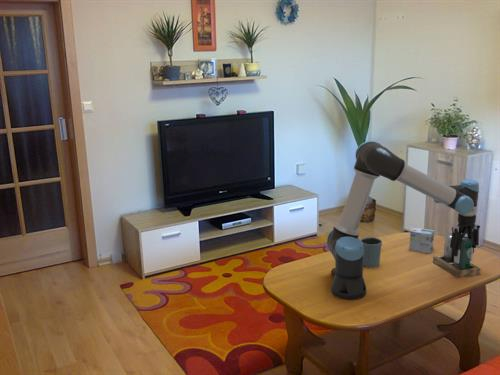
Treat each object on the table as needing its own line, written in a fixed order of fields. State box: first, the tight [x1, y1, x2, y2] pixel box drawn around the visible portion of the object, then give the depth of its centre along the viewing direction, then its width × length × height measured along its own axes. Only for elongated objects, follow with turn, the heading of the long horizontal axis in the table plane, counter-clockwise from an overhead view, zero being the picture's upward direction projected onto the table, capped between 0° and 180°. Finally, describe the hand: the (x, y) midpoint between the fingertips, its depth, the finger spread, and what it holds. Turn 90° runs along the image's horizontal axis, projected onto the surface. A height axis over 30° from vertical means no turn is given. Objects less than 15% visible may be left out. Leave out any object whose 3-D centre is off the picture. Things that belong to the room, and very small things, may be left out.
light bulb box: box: [409, 226, 435, 254], centre depth 264 cm, size 11×7×11 cm, turn 58°
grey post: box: [443, 232, 457, 263], centre depth 244 cm, size 6×7×15 cm
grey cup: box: [360, 236, 383, 268], centre depth 249 cm, size 10×10×12 cm
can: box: [455, 235, 473, 270], centre depth 236 cm, size 6×6×15 cm
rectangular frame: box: [432, 254, 482, 279], centre depth 242 cm, size 12×19×3 cm, turn 17°
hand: (462, 261), depth 237 cm, fingers closed on can, 6 cm apart
